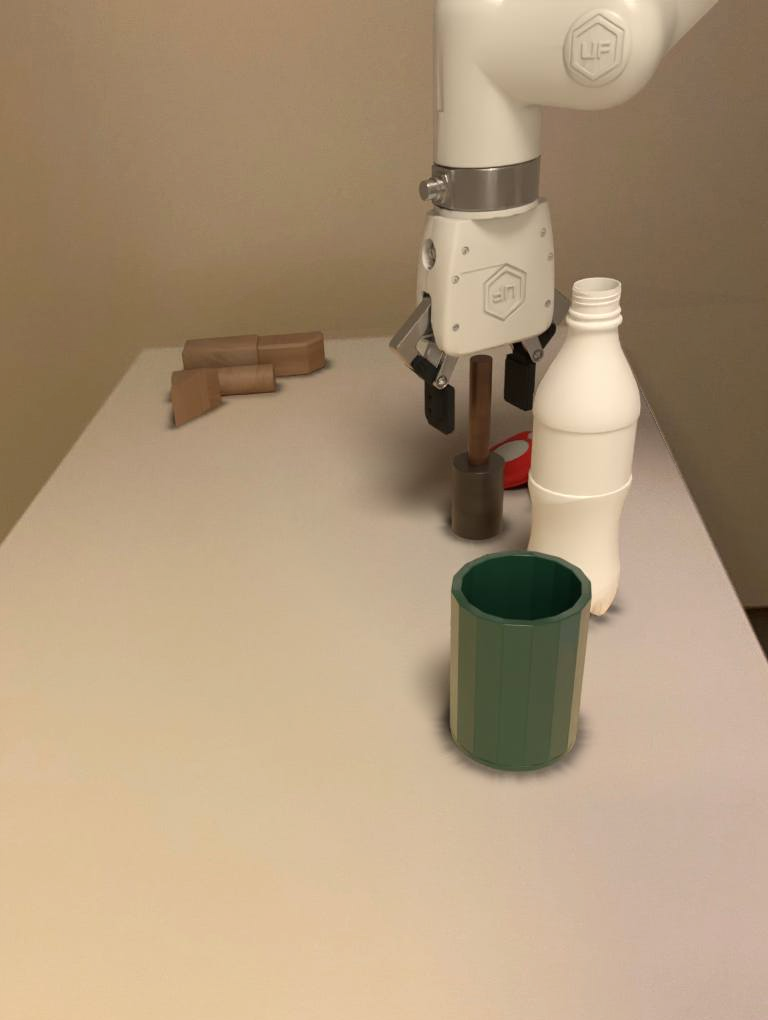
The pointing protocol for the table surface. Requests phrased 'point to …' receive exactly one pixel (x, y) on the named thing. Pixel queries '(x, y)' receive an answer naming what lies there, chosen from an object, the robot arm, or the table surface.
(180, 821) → the table surface
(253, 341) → the wooden block set
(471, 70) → the robot arm
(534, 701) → the green faceted cup
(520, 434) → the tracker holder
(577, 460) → the water bottle
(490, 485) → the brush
